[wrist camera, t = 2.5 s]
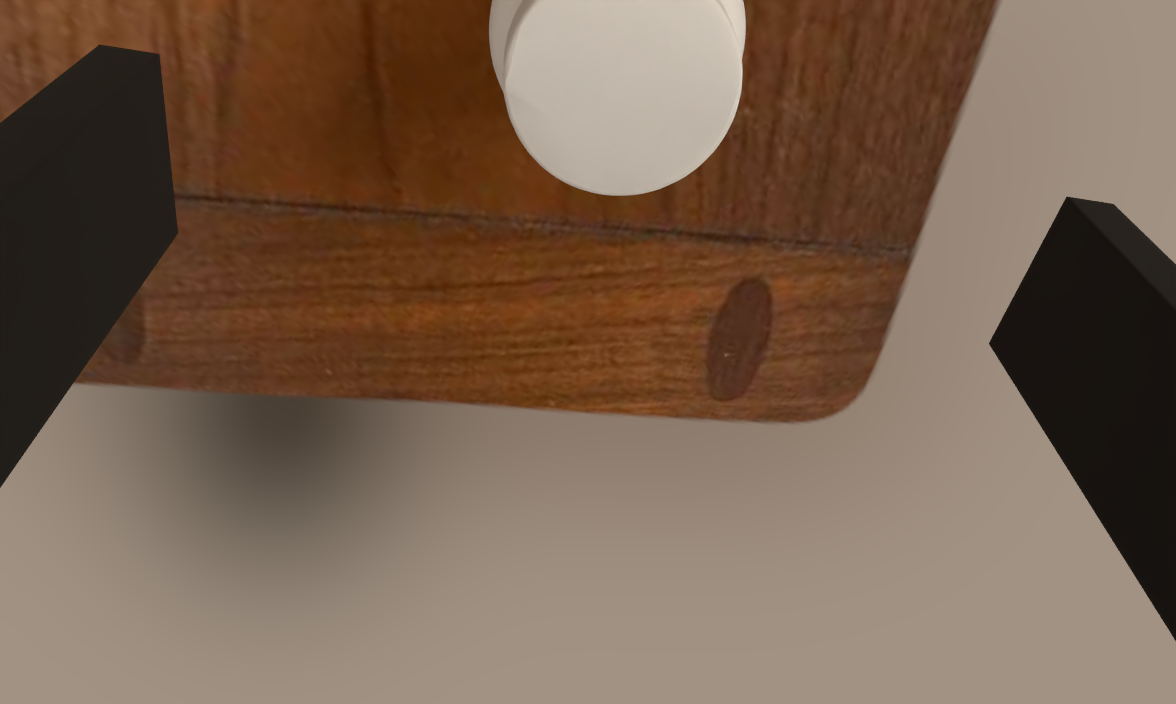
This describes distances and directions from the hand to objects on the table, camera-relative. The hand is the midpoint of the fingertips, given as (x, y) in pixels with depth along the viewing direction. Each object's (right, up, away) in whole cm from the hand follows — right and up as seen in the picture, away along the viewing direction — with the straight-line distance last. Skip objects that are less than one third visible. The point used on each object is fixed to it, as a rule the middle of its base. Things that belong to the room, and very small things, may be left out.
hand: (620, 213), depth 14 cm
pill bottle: (0, +9, +12) cm, 15 cm away
